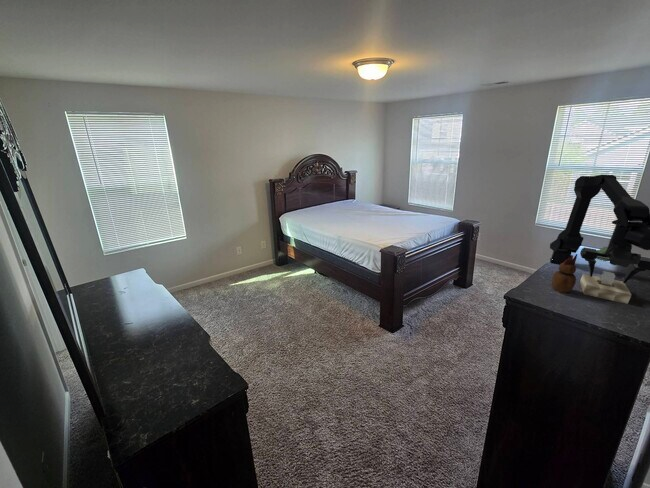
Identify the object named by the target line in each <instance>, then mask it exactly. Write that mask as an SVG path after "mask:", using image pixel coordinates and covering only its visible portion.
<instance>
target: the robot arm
mask: <svg viewBox="0 0 650 488" xmlns="http://www.w3.org/2000/svg"><path fill="white" fill-rule="evenodd" d="M601 190H602V191H603V193H605V195H606V197H607V198H608V199H609V200H610V202H611V203H612V204H613V206H614V207H613V211H612V212H613V213H614V215H615V217H616V219H615V220H613V221H611V224H612V225H613V224H614V226H615V227H614V229H613V232H612V233H611V234H612V235H611V237H610V239H609V242H608V246H607V247H608V248H607V250H606V253H605V254H604V253H598V252H597V251H596V250H597V249H596V248H591V247H582V248H581V250H580V257H581V258H582V259H584V260H585V261H586V262H587V263H588V267H589V269H588V270H589V275H590V277H592V275H593V276H594V270H595V265H596V263H597V261H596V258H602V259H608V260H610V262H609V264H610V265H612V266H620V267H623V268H627V270H626V273H625V275H624V277H623V280H622V281H623V283H624V284H625V285H626V283H627V282H628V281H630V280H631V279H632V278H633V277H634V276H635V275H636V274H638V273H640V272H647V271H650V257H646V256H642V255H641V254H640V253H635V252H632V248H633V246H634V247H637V248H640V249H642V250H644V251H650V208H649V206H648V205H646V204H645V203H644V202H642V201H640V200H638V199H635V198H633V197H632V196H631V195H630V194H629V193H628V191H627V190H626V189H625V188H624V186H623V185H622V184H621V183H620V181H618V180H617V176H616V175H614V174H599V175H581V176H580V177H578V178H577V179H576V180H575V182H574V186H573V191H574V194H575V201H574V203H573V206H572V209H571V212H570V214H569V218H568V220H567V223H566V226H565V229H564V230H562V231H561V232H560V233H559V234H558V235H557V238H556V239H554V241H552V242H551V243H550V244H549V249H550V250H552V254H551V257H550V258H549V261H550V262H549V263H550V264H553V265H558V266H560V264H561V263H563V262H565V260H568V258H571V256H572V253H574V254H577V252H578V251H579V249H580V247H581V246H582V243H583V241H584V237H583V236H582V235H581V229H582V225H583V222H584V221H585V218H586V215H587V213H588V209H589V207H590V204H591V201H592V199H594V197H596V196H598V195H599V193H600V192H601ZM552 259H553V260H552Z"/></svg>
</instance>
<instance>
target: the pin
mask: <svg viewBox="0 0 650 488" xmlns="http://www.w3.org/2000/svg"><path fill="white" fill-rule="evenodd" d="M600 275H601V276H600V277H601V278H600V281H599V284H601V285H605V286H610V287H611V286H612V284H613V281H614V280H616V279H615V278H616V275H615V273H614V272H610V271H605V270H604V271H602V273H601V274H600Z"/></svg>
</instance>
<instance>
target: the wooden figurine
mask: <svg viewBox="0 0 650 488" xmlns="http://www.w3.org/2000/svg"><path fill="white" fill-rule="evenodd" d="M571 255H572V254H571ZM577 258H578V254H577V253H575V255H572V256H571V258H568V260H565V262H563V263H561V264H560V265H558V270H557V271H556V272H554V273H553V275H552V280H551V288H552V289H553V290H555V291H556V292H558V293H561V294H562V293H569V292H572V290H573V289H574V288H575V285H576V283H577V277H576V275H575V273H576V270H577V266H576V265H575V264H576V262H577Z"/></svg>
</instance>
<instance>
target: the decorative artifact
mask: <svg viewBox="0 0 650 488" xmlns="http://www.w3.org/2000/svg"><path fill="white" fill-rule="evenodd" d="M607 248H608V246H603V247H601V248H600V249H596V251H597V252H598V253H604V254H605V253H606V250H607ZM596 259H597V260H599V261H602V260H603V262H606V261H610V260H608V259H602V258H596ZM596 259H595V260H596Z"/></svg>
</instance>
